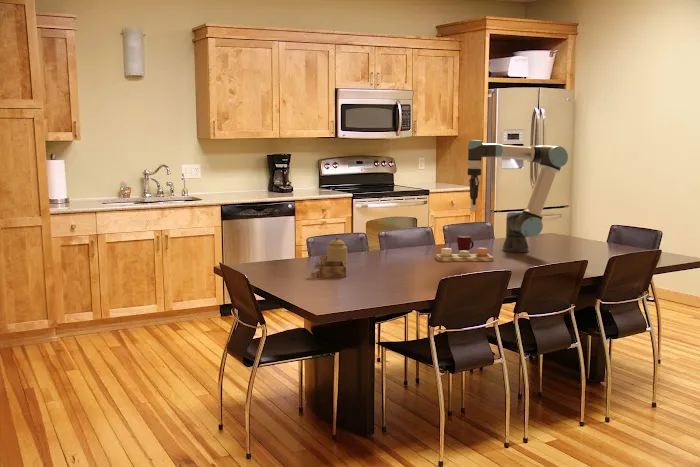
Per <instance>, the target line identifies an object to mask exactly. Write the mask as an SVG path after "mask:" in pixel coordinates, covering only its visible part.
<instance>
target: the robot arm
mask: <svg viewBox="0 0 700 467" xmlns="http://www.w3.org/2000/svg"><path fill="white" fill-rule="evenodd" d="M483 158H500V159H510V160H511V159H512V160H521V161H522V160H523V161H527V163H534V164H538V165H539V168H540V172H539V174H538V177H537V180H536V182H535V184H534V188H533V189H532V192H531V195H530V198H529V201H528V204H527V206H526V208H525V209H522V211H514V212H510V211H509V212H508V213H507V214H506V218H505V219H506V220H505V221H506V226H505V230H506V231H505V239H504V242H503V244H502V251H504V252H508V253H528V252H529V250H530V249H529V244H528V240H527V238H535V237H537V236H539V235H540V234H541V233H542V231H543V227H544V225H543V221H542V220H543V215H542V212H543V209H544V207H545V205H546V201H547V198H548V195H549V193H550V190H551V187H552V185H553V182H554V179H555V176H556V175H557V174H558V173H560V171H561V168H562V167H563V166H565V165H566V164H567V162H568V159H569V155H568V151H567V150H566V148H565V147H563V146H561V145H550V144H544V145H543V144H542V145H529V146H521V145H520V146H519V145H507V144H500V143H497V142H495V143H490V142H489V143H488V142H485V143H484V142H483V140H480V139H470V140H469V141H468V144H467V162H466V164H467V176H470V178H469V180H468V182H469V198H470V211H472V212H474V211H475V212H477V199H478V196H479V187H480V186H479V185H480V181H479V176H481V175H482V169H481V168H482V164H483V163H482V162H483V161H482V159H483Z"/></svg>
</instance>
